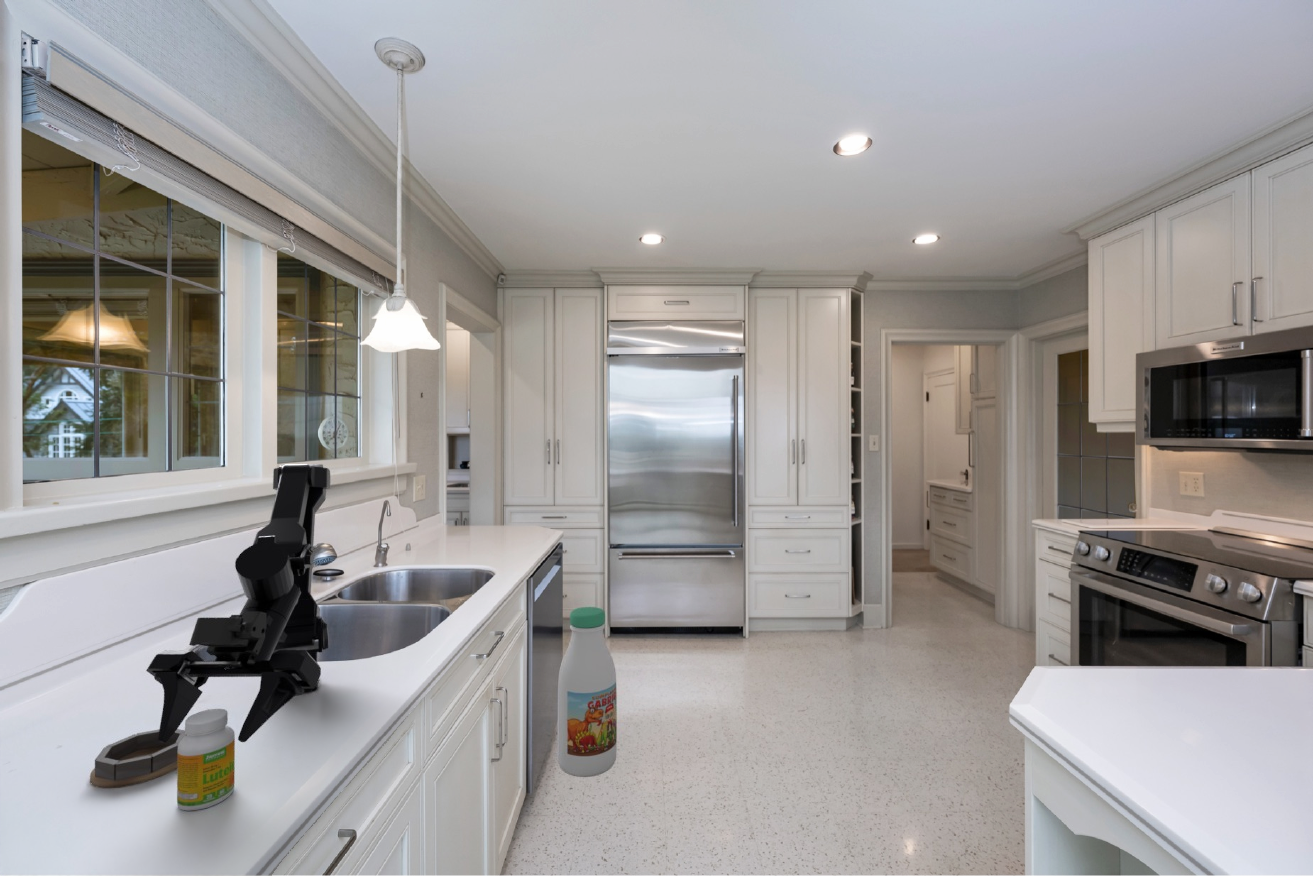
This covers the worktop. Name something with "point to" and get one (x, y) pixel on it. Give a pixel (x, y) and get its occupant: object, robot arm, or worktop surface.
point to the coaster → (136, 759)
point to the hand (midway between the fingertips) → (201, 741)
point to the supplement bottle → (205, 760)
